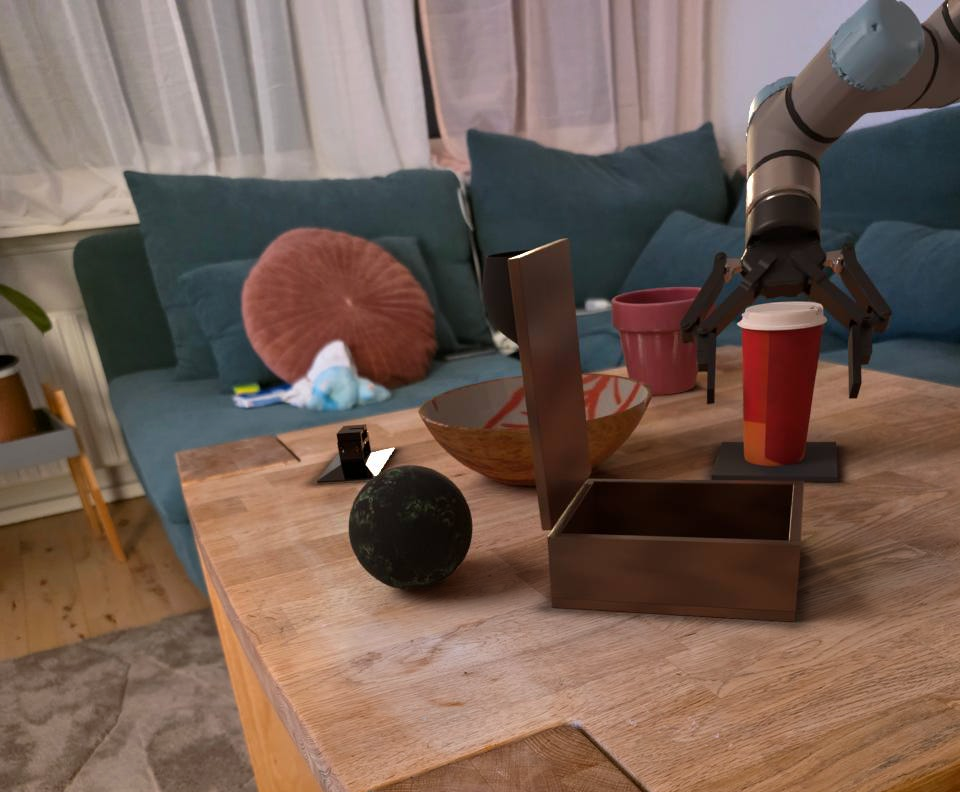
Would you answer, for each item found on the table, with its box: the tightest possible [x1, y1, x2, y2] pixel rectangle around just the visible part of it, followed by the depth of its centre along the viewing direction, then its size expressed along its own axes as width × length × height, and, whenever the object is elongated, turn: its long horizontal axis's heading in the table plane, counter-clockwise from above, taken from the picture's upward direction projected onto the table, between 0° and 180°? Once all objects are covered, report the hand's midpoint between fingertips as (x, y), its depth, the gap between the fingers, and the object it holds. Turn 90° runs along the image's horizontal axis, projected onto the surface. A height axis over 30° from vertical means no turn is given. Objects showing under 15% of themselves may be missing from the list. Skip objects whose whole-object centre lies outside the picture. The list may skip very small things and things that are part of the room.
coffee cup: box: [736, 301, 828, 466], centre depth 90 cm, size 8×8×15 cm
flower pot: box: [611, 286, 717, 396], centre depth 126 cm, size 14×14×13 cm
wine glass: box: [482, 249, 532, 348], centre depth 124 cm, size 10×10×20 cm
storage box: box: [546, 478, 805, 622], centre depth 70 cm, size 18×14×6 cm
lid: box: [508, 237, 592, 532], centre depth 67 cm, size 19×14×1 cm
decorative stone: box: [348, 464, 474, 591], centre depth 72 cm, size 10×10×10 cm
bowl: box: [417, 372, 653, 487], centre depth 97 cm, size 25×25×8 cm
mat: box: [710, 441, 839, 483], centre depth 94 cm, size 12×12×1 cm
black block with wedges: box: [315, 424, 396, 485], centre depth 107 cm, size 12×7×5 cm, turn 175°
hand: (781, 394), depth 88 cm, fingers open, 13 cm apart
